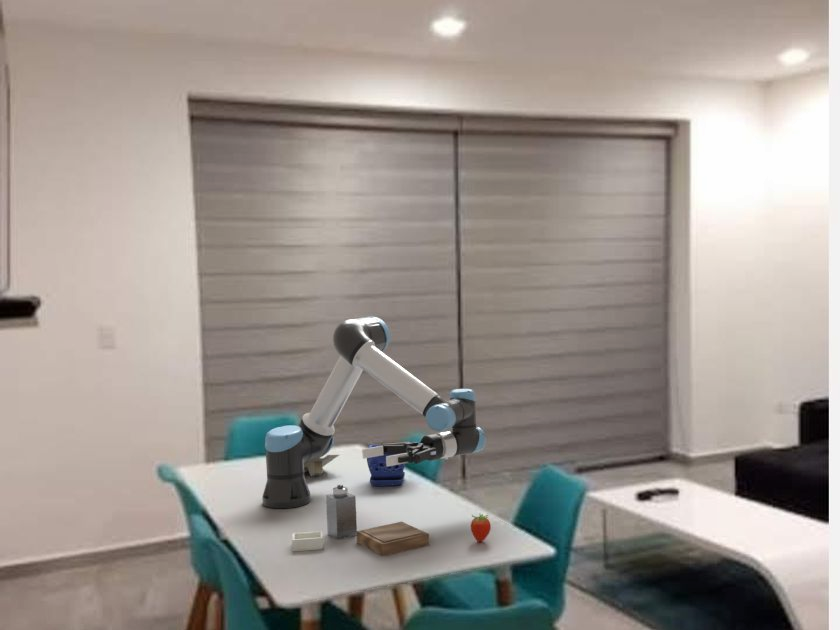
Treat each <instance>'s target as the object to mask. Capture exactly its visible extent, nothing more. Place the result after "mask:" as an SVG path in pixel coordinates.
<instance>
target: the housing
mask: <svg viewBox="0 0 840 630" xmlns="http://www.w3.org/2000/svg"><path fill="white" fill-rule="evenodd" d="M348 489H349V488H348V486H344V484H337V486H336V487H333V488H332V493H331V494H326V495H325V502H326V503H325V504H326V505H325V506H326V522H327V523H326V525H327V535H329V536H330V537H332V538H334V539H335V540H337V541H338V540H341V539H347V538H350V537H357V531H358V529H357V527H358V525H357V523H358V522H357V503H356V501H357V499H356V495H354V494H352V493H350V492H348V491H349V490H348Z"/></svg>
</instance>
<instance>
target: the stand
mask: <svg viewBox="0 0 840 630" xmlns="http://www.w3.org/2000/svg"><path fill="white" fill-rule="evenodd" d="M356 543H357V544H359V545H361V546H363V547H365V548H367V549H369V550H371V551H373V552H375V553H377V554H379V555H381V556H382V557H385V556H389V555H394V554H397V553H402V552H406V551H410V550H414V549H415V550H416V549H418V548H423V547H426V546H430V533H428V532H426V531H424V530H421V529H419V528H417V527H414V526H412V525H410V524H407V523H406V522H404V521H397V522H393V523H389V524H384V525H380V526H379V525H378V526H375V527H369V528H365V529H360V530H357V535H356Z"/></svg>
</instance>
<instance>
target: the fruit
mask: <svg viewBox="0 0 840 630" xmlns="http://www.w3.org/2000/svg"><path fill="white" fill-rule="evenodd" d="M471 517H472V518H473V519H472V521H471V523H470V531H471V534H472V536H473V537H474V539H475V540H476V542H478V543H482V542H483V541H484V540H486V538H487V537H488V536H489V534H490V532H491V530H492V529H491V528H492V526H491V525H492V524H491V522H490V520H489V514H487V515H484V514H483V513H482V514H479V515H478V516H476V515H475V516H474V515H473V514H471Z"/></svg>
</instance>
